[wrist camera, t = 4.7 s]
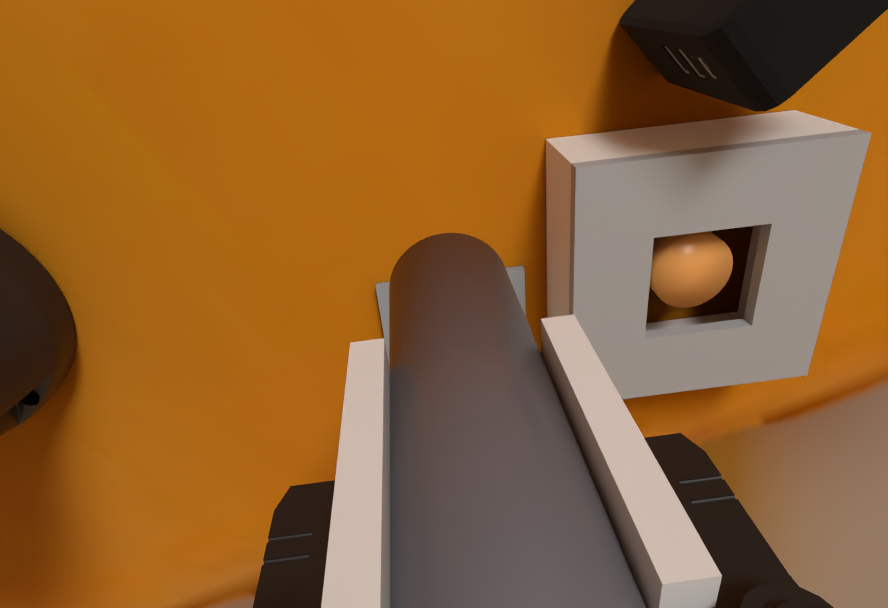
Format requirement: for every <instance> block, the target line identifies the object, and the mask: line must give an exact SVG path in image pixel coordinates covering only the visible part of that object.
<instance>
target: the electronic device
mask: <svg viewBox="0 0 888 608" xmlns="http://www.w3.org/2000/svg"><path fill="white" fill-rule="evenodd" d="M887 9H888V0H635V1H634V2H633V4H632V5H631V6H630V7H629V8H628V9H627V10H626V12H625V13H624V14H623V15H622V17H621V19H620V21H619V22H620V24H621V25H622V27H623V28H624V29H625V30H626V31H627V33H628V34H629V35H630V36H631V38H632V39H633V40H634V41H635V42H636V44H637V45H638V46H639V47H640V49H641V50H642V51H643V52H644V53H645V55H646V56H647V57H648V58H649V59H650V61H651V62H652V63H653V64H654V66H655V67H656V68H657V69H658V70H659V72H660V73H661V74H662V75H663V76H664V78H665V79H666V80H667V81H668V82H669V83H672V84H675V85H678V86H681V87H684V88H687V89H690V90H693V91H696V92H699V93H702V94H705V95H708V96H711V97H714V98H717V99H720V100H723V101H726V102H729V103H732V104H735V105H738V106H741V107H744V108H747V109H750V110H753V111H767V110H770V109H772V108H774V107H777V106H779V105H780V104H782V103H783V102H784V101H786V100H787V99H789V98H790V97H791V96H792V95H793V94H795V93H796V92H797V91H798V90H799V89H800V88H801V87H802V86H803V85H804V84H806V83H807V82H808V81H809V80H810V79H811V78H812V77H813V76H814V75H815V74H817V73H818V72H819V71H820V70H821V69H822V68H823V67H824V66H825V65H826V64H828V63H829V62H830V61H831V60H832V59H833V58H834V57H835V56H836V55H837V54H839V53H840V52H841V51H842V50H843V49H844V48H845V47H846V46H847V45H848V44H849V43H851V42H852V41H853V40H854V39H855V38H856V37H857V36H858V35H859V34H860V33H862V32H863V31H864V30H865V29H866V28H867V27H868V26H869V25H870V24H871V23H873V22H874V21H875V20H876V19H877V18H878V17H879V16H880V15H881V14H882V13H884V12H885V11H886V10H887Z"/></svg>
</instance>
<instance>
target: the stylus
mask: <svg viewBox="0 0 888 608" xmlns="http://www.w3.org/2000/svg"><path fill="white" fill-rule="evenodd" d="M389 369H390V608H646V606H645V603H644V601H643V598H642V596H641V594H640V591H639V589H638V586H637V584H636V582H635V579H634V577H633V574H632V572H631V570H630V567H629V565H628V562H627V560H626V557H625V555H624V553H623V550H622V548H621V545H620V543H619V541H618V538H617V536H616V533H615V531H614V529H613V526H612V524H611V521H610V519H609V517H608V514H607V512H606V509H605V507H604V505H603V502H602V500H601V497H600V495H599V492H598V490H597V488H596V485H595V483H594V480H593V478H592V476H591V473H590V471H589V468H588V466H587V464H586V461H585V459H584V456H583V454H582V452H581V449H580V447H579V444H578V442H577V440H576V437H575V435H574V432H573V430H572V428H571V425H570V423H569V420H568V418H567V415H566V413H565V411H564V408H563V406H562V403H561V401H560V399H559V396H558V394H557V391H556V389H555V387H554V384H553V382H552V379H551V377H550V375H549V372H548V370H547V367H546V365H545V363H544V360H543V358H542V355H541V353H540V350H539V348H538V346H537V343H536V341H535V338H534V336H533V334H532V331H531V329H530V326H529V324H528V322H527V319H526V317H525V314H524V312H523V310H522V307H521V305H520V302H519V300H518V298H517V295H516V293H515V290H514V288H513V285H512V283H511V281H510V278H509V276H508V273H507V271H506V269H505V266H504V264H503V262H502V260H501V259H500V257H499V255H498V254H497V253H496V252H495V251H494V250H493V249H492V248H491V247H490V246H489V245H488V244H486V243H484V242H483V241H481V240H479V239H477V238H475V237H472V236H469V235H465V234H460V233H443V234H438V235H433V236H430V237H427V238H425V239H423V240H421V241H419V242H417V243H416V244H414V245H413V246H411V247H410V248H409V249H408V250H407V251H406V252H405V253H404V254H403V255H402V256H401V257H400V259H399V260H398V261H397V263H396V265H395V267H394V269H393V272H392V274H391V278H390V286H389Z"/></svg>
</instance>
